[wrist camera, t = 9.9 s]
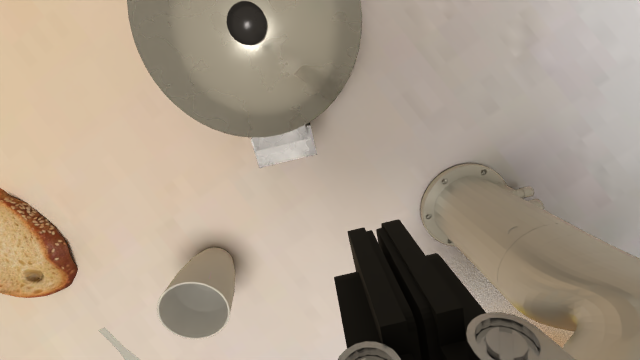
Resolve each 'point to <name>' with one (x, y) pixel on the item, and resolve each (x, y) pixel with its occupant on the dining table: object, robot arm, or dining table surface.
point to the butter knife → (118, 345)
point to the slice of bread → (31, 252)
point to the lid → (249, 60)
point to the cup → (199, 296)
